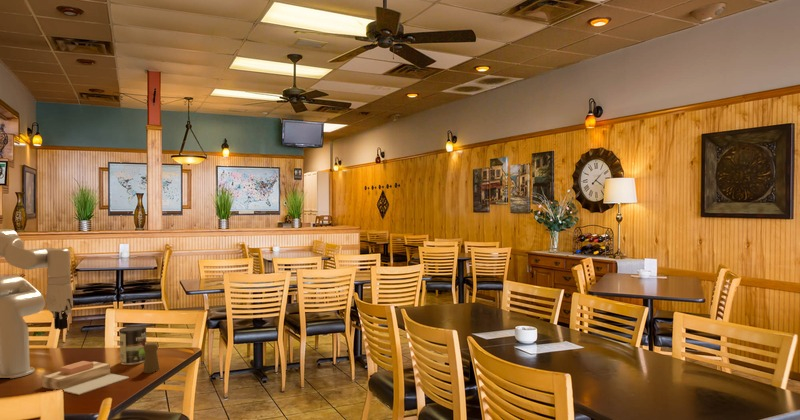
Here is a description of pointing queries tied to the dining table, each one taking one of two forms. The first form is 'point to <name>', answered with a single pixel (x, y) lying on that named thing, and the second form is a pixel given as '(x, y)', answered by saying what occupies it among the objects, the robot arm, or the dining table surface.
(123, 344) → the coffee can
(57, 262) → the robot arm
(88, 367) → the terracotta tile
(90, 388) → the grey mat
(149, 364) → the cork
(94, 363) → the birch board
